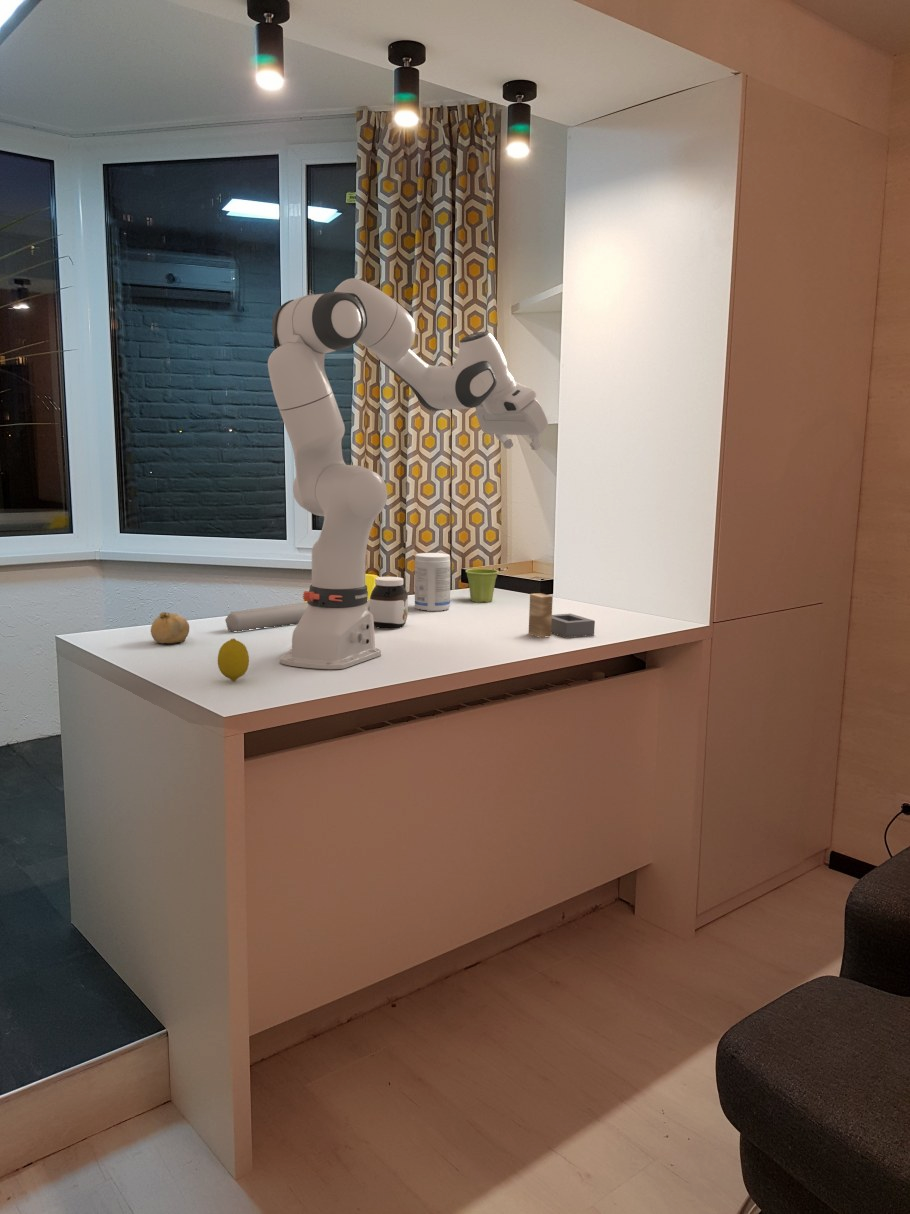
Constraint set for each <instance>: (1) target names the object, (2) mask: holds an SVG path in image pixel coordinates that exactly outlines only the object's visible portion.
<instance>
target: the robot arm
mask: <svg viewBox="0 0 910 1214" xmlns="http://www.w3.org/2000/svg"><path fill="white" fill-rule="evenodd" d="M271 335H272V339H273V342H272V345H273V347H274V350H273V351H272V352H271V353H270V355H269V357H268V359H267V368H268V369H267V370H268V375H269V379H270V384H271V389H272V393H273V395H274V400H275V402H276V405H277V408H278V410H279V414H280V417H281V419H282V421H283V424H284V427H285V429H286V433H287V435H288V438H289V440H290V441H289V442H290V444H291V448H292V452H293V457H294V459H293V460H294V465H295V474H296V475H295V478H294V481H293V485H292V486H293V487H292V492H293V493H292V494H293V497H294V499H295V501H296V503H297V504H298V505H299V506H300V507H301V508H302V509H304V510H306V511H307V512H309V513H311V514H313V515H314V516H317V517H318V516H319V517H323V524H322V528H321V531H320V534H319V537H318V538H317V540H316V542H314V544H313V546H312V548H311V584H310V586H309V591H307V590H304V591H303V594H302V600H303V602H307V603H308V607H307V609H306V611H305V612H304V614H303V616H302V617H301V619H300V621H299V623H298V624H296V626H295V628H294V629H293V632H292V637H291V648H290V649H289V650H288V651H286V652H285V653H284V654H283V655H282V656H281V657H280V658H279V663H280V664H283V665H286V666H290V667H291V666H292V667H298V668H305V669H306V668H307V669H317V670H342V669H346V668H349V667H352V666H355V665H357V664H361V663H363V662H367V661H369V660H371V659H375V658H378V657H380V656H382V651H381V649H379V648H376V641H375V626H374V620H373V615H372V614H371V613H370V612H369V610H368V608H367V606H366V603H367V601H368V595H369V592H368V586H367V585H366V571H367V570H366V568H367V567H366V566H367V564H366V563H367V562H366V559H367V547H368V542H369V538H370V534H371V531H372V528H373V525H374V522H375V520H376V518H377V517H378V515H379V514H381V513H382V511H383V510H384V508H385V506H386V504H387V500H388V488H387V485H386V482H385V480H384V479H383V477H382V476H381V475H380V474H378V473H377V472H375V471H374V470H371V469H369V468H367V467H365V466H362V465H354V464H347V463H346V462H345V461H344V457H343V448H342V446H343V445H342V439H343V437H344V435H345V432H346V428H345V423H344V420H343V417H342V415H341V411H340V409H339V406H338V403H337V400H336V398H335V395H334V391H333V390H332V386H331V384H330V381H329V379H328V377H327V373H326V369H325V357H326V354H328V353H329V354H330V353H334V352H337V351H343V350H345V349H349V348H350V347H351V346H354V344H356V343H357V342H358V343H359V344H361V345H362V346H363V347H365V348H366V349H367V350H369V351H370V352H371V353H372V354H374V355H375V356H376V357H377V359H378V360H379V361H380V362H381V363H382V364H383V365H384V366H385V367H386V368H387V369H389V370H390V372H392V373H393V374H394V375H395V376H396V377H398V378H399V379H400V380H401V381H403V382H404V383H405V384H406V386H408V387H409V388H410V389H411V391H412V392H413V393H414V396H415V397H416V398H417V400H418V401H419V403H420V404H421V405H422V406H423V407H424V408H425V409H427V410H429V411H432V412H440V411H446V410H465V409H473V408H474V409H475V415H476V419H477V421H478V422H477V423H478V425H479V427H480V430H481V431H482V432H483V433H484V434H486V435H495V437H496V438H497V440H499V441H500V443H502V445H503V448H504V449H511V448H512V447H514V443H513V441H512V439H511V438H509V437H508V436H507V435H509V436H510V435H511V436H528V438H530V439H531V442H530V443H529V446H530V449H531V450H535V451H537V450H539V449H540V448H541V443H540V435H541V436H542V434H543V433H544V432H545V431H546V430H548V428H549V421H548V419H547V416H546V414H545V411H544V410H543V407H542V405H541V404H540V402H539V401H538V400H537V399H536V397H537V393H536V391H535V389H533V388H532V387H528V386H527V385H524V384H522V383H519V382H517V381H515V378H514V376H513V375H512V374H511V372H509V369H508V362H507V359H506V357H505V355H504V353H503V350H502V348H501V347H500V344H499V343H498V341H497V340H496V338H495V337H494V336H493V334H492V333H491V332H488V331H479V332H475V333H471V334H467V335H466V336H464V337H463V338H461V339H460V340H459V342H458V346H459V348H458V352H457V356H456V357H455V360H454V362H453V364H452V365H446V366H445V365H444V366H441V365H440V366H439V365H430V364H428V363H426V362H425V361H424V360H423V359H421V358H420V357H419V356H418V354H416V353H415V352H414V351H413V350H411V348H412V345H413V343H414V340H415V337H416V323H415V320H414V318H413V317H412V315H411V314H410V313H409V312H408V310H407V309H405V308H404V307H403V306H402V305H401V304H399V303H398V302H397V301H396V300H395V299H393V298H392V297H391V296H389V295H388V294H386V293H385V292H384V291H382V290H381V289H379V288H377V287H376V286H374V285H372V284H370V283H368V282H366V281H364V280H362V279H360V278H357V277H356V278H355V277H354V278H353V277H351V278H347V279H344V280H342V282H340V284H338V285H337V286H336V287H335V289H334V291H328V292H326V293H319V294H315V293H314V294H307V295H303V296H301V297H299V298H296V299H290V300H288V301H286V302H284V303H282V304H281V305H279V307H278V308H277V309H276V311H274V314H273V316H272V321H271Z"/></svg>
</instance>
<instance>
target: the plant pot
mask: <svg viewBox="0 0 910 1214" xmlns="http://www.w3.org/2000/svg"><path fill="white" fill-rule="evenodd" d="M465 573H466V577H467V581H468V586H469V587H468V588H469V595H470V601H472V602H473V601H476V602H475V603H482V602H485V603H490V601H491V602H493V597H494V591H495V585H496V579H497V577H498V574H499V573H500V571H499V570H497V569H491V568H470V569H466V570H465Z"/></svg>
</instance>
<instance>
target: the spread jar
mask: <svg viewBox="0 0 910 1214" xmlns="http://www.w3.org/2000/svg"><path fill="white" fill-rule="evenodd" d="M374 584H375V586H374V587H373V589H372V591H371V593H370V597H369V599H367V603H366V606H367V608H368V610H369V612H370V613H371V614H372V615H373V620H374V628H377V627H379V628H378V629H381V628H397V629H401V628H403V627H404V626H405V624H406V623H407V620H408V612H409V611H408V609H409V608H408V607H409V606H408V605H409V596H408V595H409V594H408V592H407V589H406V588H405V587H404V578H403V577H397V576H378V577H375V578H374ZM400 627H401V628H400Z"/></svg>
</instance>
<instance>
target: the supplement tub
mask: <svg viewBox="0 0 910 1214" xmlns="http://www.w3.org/2000/svg"><path fill="white" fill-rule="evenodd" d="M414 556H415V557H414V558H415V559H414V607H415V609H417V610H419V609H421V610H420V611H422V610H427V611H426V612H443V610H444V611H447V610H449V609H450V607H451V557H450V556H451V555H450V554H449V553H442V552H420V553H416V554H415V555H414Z"/></svg>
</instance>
